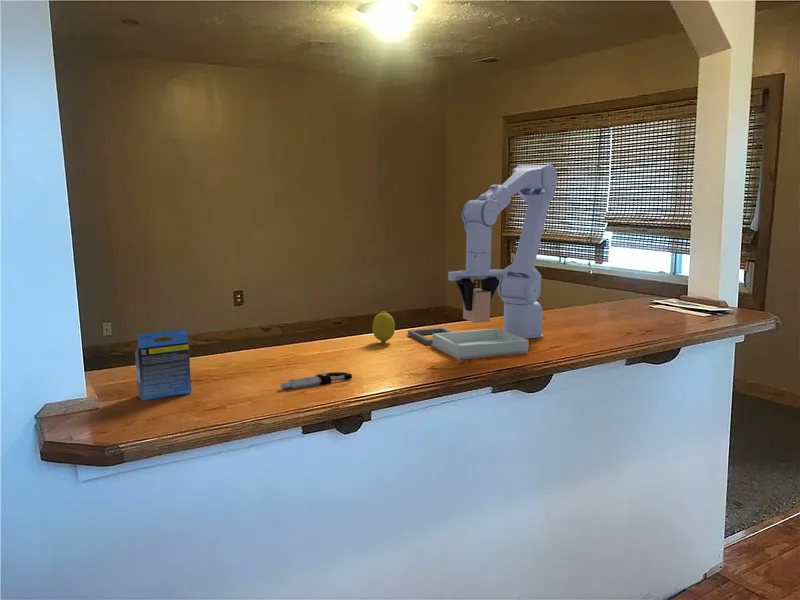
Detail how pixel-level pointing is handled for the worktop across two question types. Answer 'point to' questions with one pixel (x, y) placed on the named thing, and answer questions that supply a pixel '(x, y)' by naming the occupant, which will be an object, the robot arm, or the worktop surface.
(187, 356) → the label tape cartridge
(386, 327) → the lemon
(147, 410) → the worktop surface
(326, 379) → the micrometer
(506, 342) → the parts tray
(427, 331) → the frame
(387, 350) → the worktop surface
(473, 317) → the block
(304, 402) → the worktop surface
